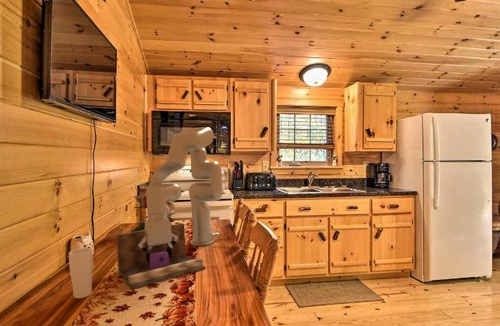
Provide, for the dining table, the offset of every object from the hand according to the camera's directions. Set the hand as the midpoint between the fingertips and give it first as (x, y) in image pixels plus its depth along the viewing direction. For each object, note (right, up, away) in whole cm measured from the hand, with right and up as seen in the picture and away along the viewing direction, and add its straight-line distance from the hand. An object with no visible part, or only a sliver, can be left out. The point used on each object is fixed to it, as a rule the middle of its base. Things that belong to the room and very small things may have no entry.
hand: (159, 259), depth 119 cm
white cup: (-19, -5, -21) cm, 29 cm away
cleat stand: (+1, -4, -2) cm, 4 cm away
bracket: (0, -3, -1) cm, 3 cm away
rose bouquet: (-21, -4, +62) cm, 65 cm away
